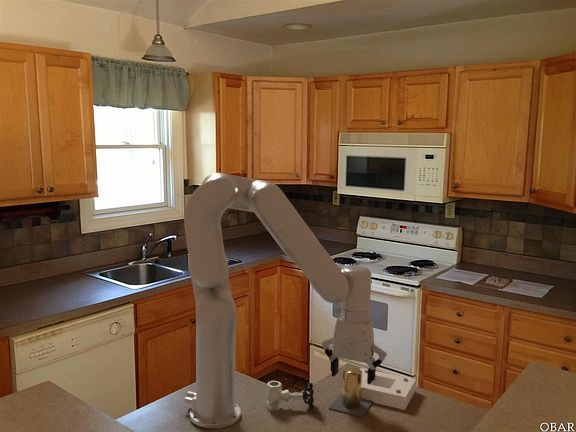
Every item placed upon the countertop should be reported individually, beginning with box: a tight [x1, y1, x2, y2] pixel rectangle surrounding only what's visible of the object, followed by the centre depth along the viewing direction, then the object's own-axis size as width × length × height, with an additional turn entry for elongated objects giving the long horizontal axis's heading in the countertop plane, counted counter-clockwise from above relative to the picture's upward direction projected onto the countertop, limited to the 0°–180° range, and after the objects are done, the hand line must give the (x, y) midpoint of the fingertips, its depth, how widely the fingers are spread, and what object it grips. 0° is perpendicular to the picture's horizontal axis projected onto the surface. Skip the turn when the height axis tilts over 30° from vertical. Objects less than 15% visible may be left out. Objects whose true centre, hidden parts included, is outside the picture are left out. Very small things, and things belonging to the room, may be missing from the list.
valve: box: [265, 380, 315, 412], centre depth 133 cm, size 7×7×12 cm
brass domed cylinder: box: [342, 367, 362, 409], centre depth 135 cm, size 5×5×9 cm
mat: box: [328, 393, 374, 418], centre depth 135 cm, size 9×9×1 cm
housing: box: [358, 367, 417, 411], centre depth 142 cm, size 16×12×4 cm
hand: (352, 378), depth 134 cm, fingers open, 9 cm apart
